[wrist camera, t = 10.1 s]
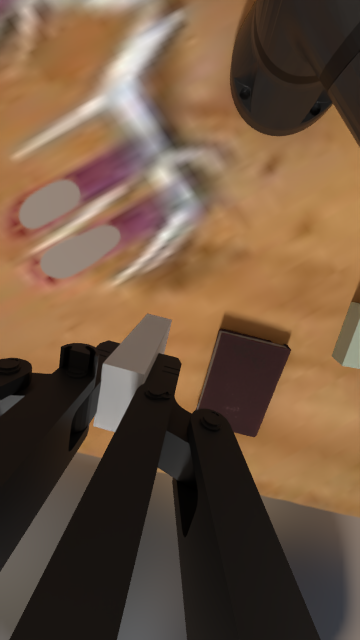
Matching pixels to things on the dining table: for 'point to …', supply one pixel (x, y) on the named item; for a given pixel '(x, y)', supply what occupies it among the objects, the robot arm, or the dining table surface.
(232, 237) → the dining table surface
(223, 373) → the book
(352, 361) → the block
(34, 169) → the dining table surface
